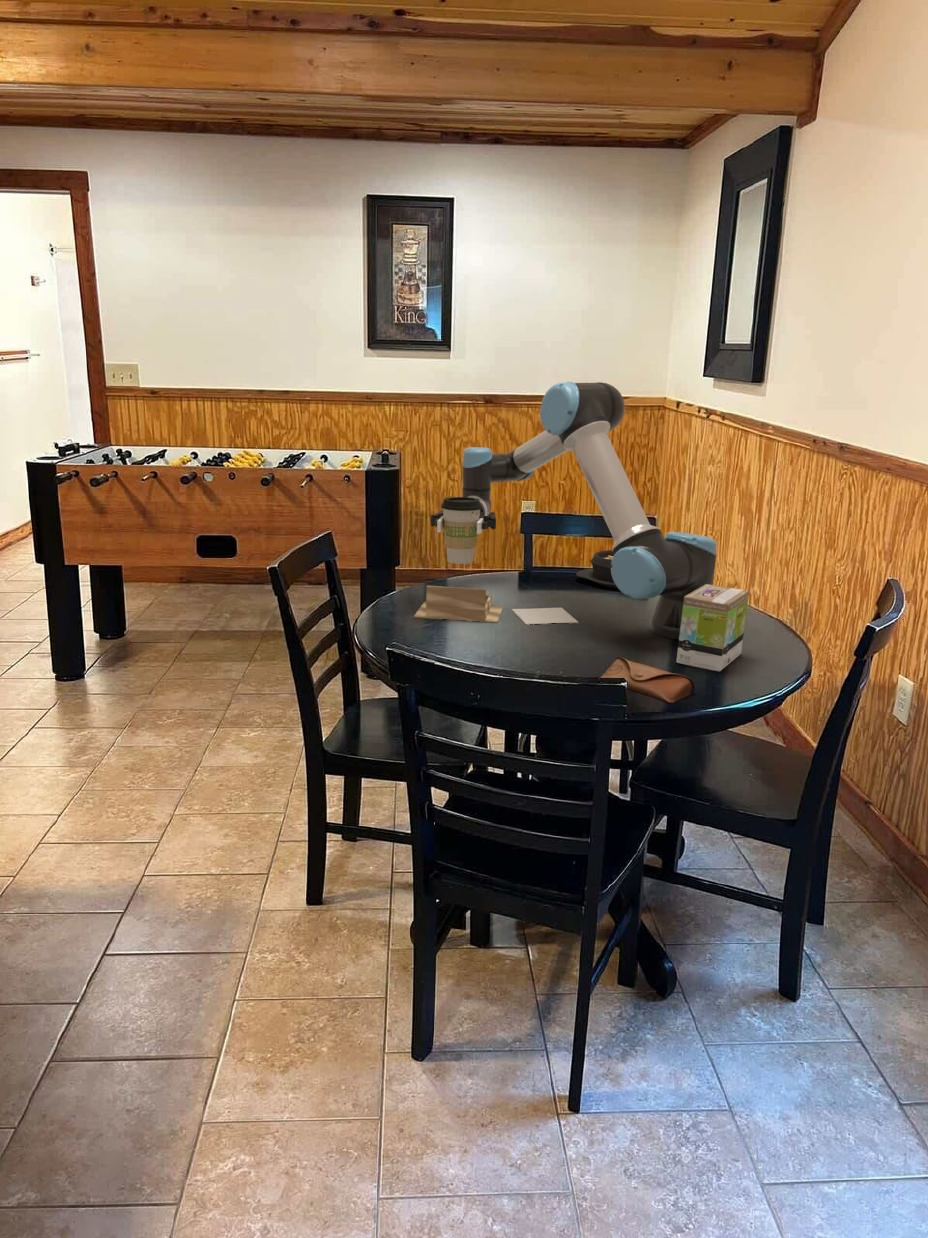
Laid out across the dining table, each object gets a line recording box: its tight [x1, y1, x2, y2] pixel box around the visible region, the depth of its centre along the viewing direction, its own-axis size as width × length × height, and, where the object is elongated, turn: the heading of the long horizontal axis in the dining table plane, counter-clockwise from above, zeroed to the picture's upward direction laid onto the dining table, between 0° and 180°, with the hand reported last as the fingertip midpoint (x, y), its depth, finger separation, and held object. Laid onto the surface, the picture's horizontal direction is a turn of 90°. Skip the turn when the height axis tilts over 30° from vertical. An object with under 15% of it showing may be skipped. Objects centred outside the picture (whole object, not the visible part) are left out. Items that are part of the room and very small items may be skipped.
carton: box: [413, 585, 504, 624], centre depth 228 cm, size 17×20×8 cm
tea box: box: [675, 584, 750, 672], centre depth 195 cm, size 15×10×15 cm
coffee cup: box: [440, 496, 482, 565], centre depth 222 cm, size 10×10×15 cm
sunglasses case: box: [599, 656, 696, 704], centre depth 180 cm, size 18×7×7 cm
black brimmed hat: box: [575, 549, 619, 589], centre depth 259 cm, size 25×19×8 cm
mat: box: [511, 607, 579, 626], centre depth 226 cm, size 13×13×1 cm
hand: (458, 527), depth 217 cm, fingers closed on coffee cup, 9 cm apart
